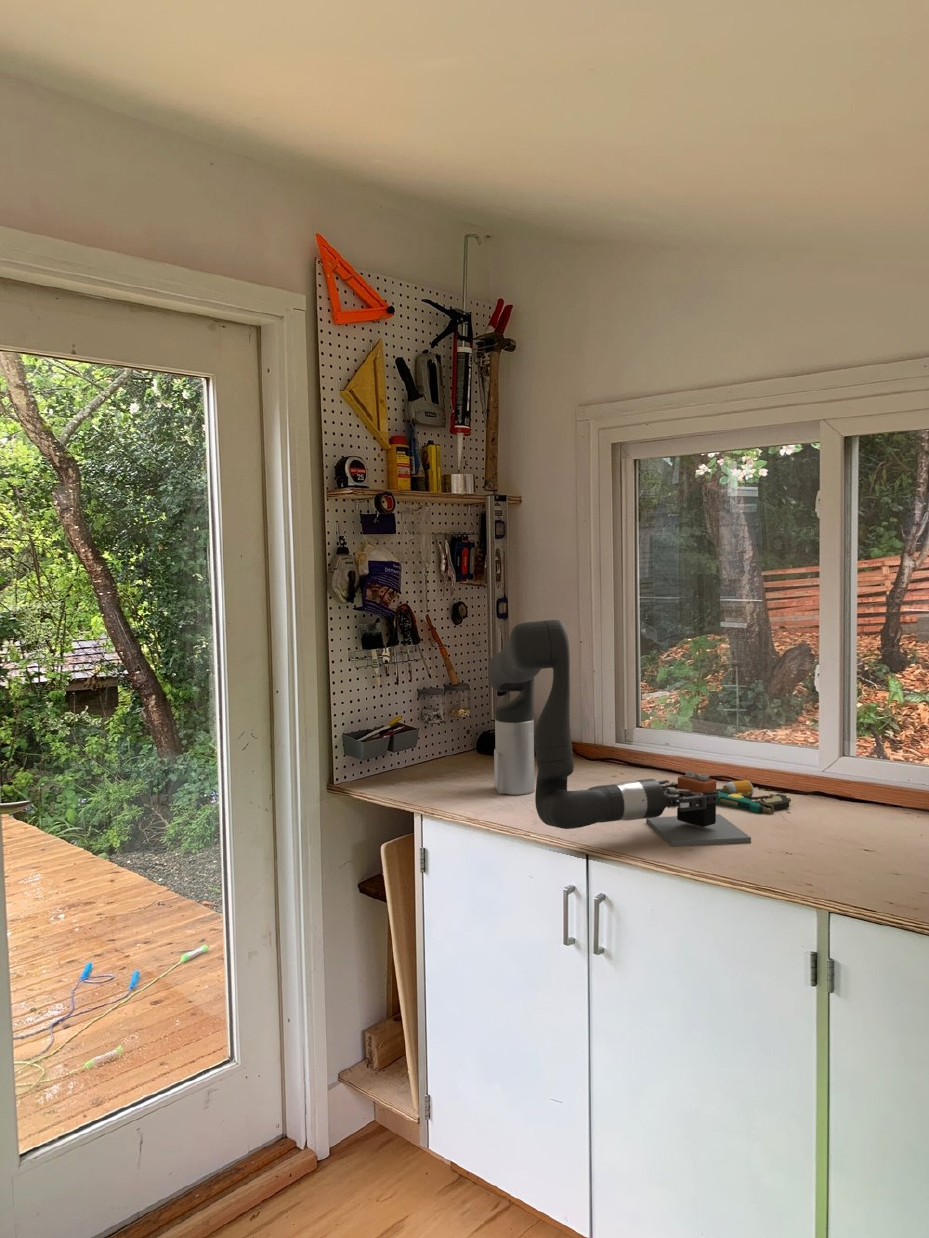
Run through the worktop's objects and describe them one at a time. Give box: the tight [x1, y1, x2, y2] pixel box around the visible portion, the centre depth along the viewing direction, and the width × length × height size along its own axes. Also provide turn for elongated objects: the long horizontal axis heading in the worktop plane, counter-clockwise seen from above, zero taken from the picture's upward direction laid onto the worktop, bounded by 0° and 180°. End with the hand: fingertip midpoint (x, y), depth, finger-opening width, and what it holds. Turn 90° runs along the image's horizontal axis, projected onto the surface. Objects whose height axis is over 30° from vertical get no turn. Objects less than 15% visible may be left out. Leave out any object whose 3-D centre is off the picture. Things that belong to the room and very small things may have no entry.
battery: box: [676, 771, 717, 827], centre depth 185 cm, size 4×7×10 cm, turn 38°
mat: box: [645, 813, 752, 847], centre depth 186 cm, size 16×16×1 cm
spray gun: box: [716, 779, 792, 815], centre depth 205 cm, size 4×17×15 cm
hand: (704, 791), depth 186 cm, fingers closed on battery, 7 cm apart
